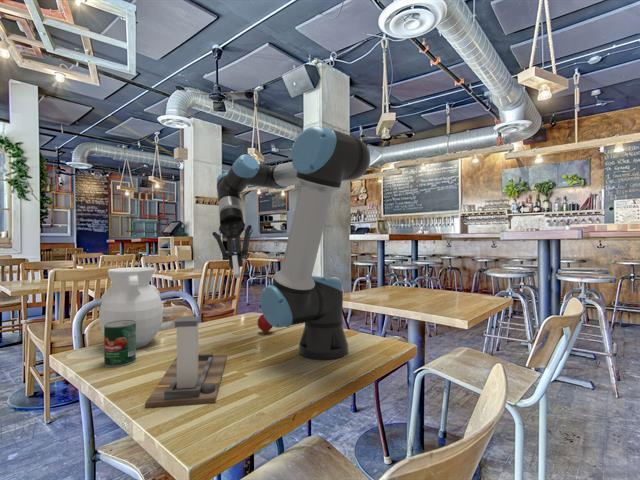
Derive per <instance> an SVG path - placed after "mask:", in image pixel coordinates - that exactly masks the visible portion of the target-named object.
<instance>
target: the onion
mask: <svg viewBox="0 0 640 480" xmlns="http://www.w3.org/2000/svg"><path fill="white" fill-rule="evenodd" d="M257 327H258V329H259V330H261V331H262V332H263V333H264V334H267V333H268V332H270V330H272V329H273V327H274V326H272V325H270V324H269V323H268V322H267V320H266V319H265V317H264V315H263V313H262V314H261V315H260V316H259V317H258V319H257Z"/></svg>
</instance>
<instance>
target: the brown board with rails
mask: <svg viewBox="0 0 640 480" xmlns="http://www.w3.org/2000/svg"><path fill="white" fill-rule="evenodd" d="M227 360H228V354H222V355H221V354H219V355H218V354H217V355H214V353H202V354H199V353H198V383H197V385H196V387H195V388H181V389H177V357H175V359H174V360H173V361H172V363H171V364H170V366H169V367H168V369H167V370H166V371H165V373H164V374H163V376H162V377H161V379H160V380H159V381H158V383H157V385H156V387H155V388H154V390H152V392H151V394H150V395H149V397H148V398H147V399H146V401H145V402H144V408H145V409H149V408H159V407H174V406H187V405H188V406H189V405H199V404H200V405H201V404H202V405H203V404H214V403H216V402H217V401H216V400H217V397H218V394H219V389H220V386H221V382H222V378H223V375H224V371H225V366H226V363H227Z"/></svg>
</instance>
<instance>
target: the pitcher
mask: <svg viewBox="0 0 640 480" xmlns="http://www.w3.org/2000/svg"><path fill="white" fill-rule="evenodd" d="M106 272H107V275H108V277H109V279H110V281H111V283H112V285H110V287H108V289H105V291H104V294H103V295H101V298H100V300H101V301H102V302H101V304H100V308H99V315H98V324H99V328H100V331H101V333H102V335H103V336H104V325H105V324H106V323H109V322H113V321H120V320H134V321H136V349H138V348H139V349H140V348H143V347H145V346H147V345H148V344H149V343H150V342H152V340H153V339H154V338H155V337H156V336H157V333H159V331H160V329H161V326H162V323H163V318H164V309H163V302H162V299H161V292H160V290H158V288H157V287H156V286H155V284H150V282H151V280H152V277H153V274H154V272H155V267H153V266H151V267H150V266H141V267H138V266H136V267H135V266H133V267H131V266H129V267H115V268H109V269H108V270H107V271H106ZM142 346H143V347H142Z"/></svg>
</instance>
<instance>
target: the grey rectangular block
mask: <svg viewBox="0 0 640 480" xmlns="http://www.w3.org/2000/svg"><path fill="white" fill-rule="evenodd" d="M200 321H201V317H200V316H198V315H197V316H179V317H178V318H177V319H176V320H175V321H174V327H175V328H176V358H177V389H181V388H195V387H196V385H197V383H198V355H199V323H200Z"/></svg>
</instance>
